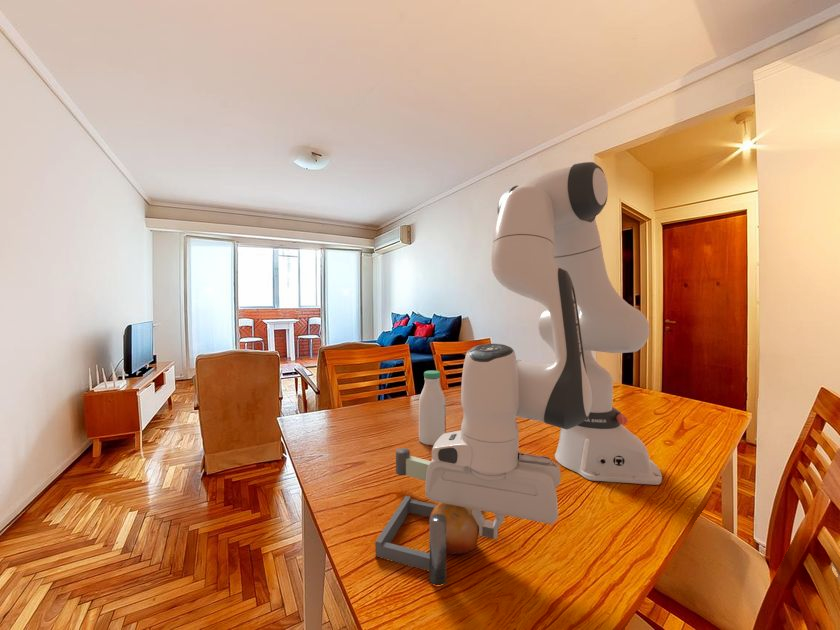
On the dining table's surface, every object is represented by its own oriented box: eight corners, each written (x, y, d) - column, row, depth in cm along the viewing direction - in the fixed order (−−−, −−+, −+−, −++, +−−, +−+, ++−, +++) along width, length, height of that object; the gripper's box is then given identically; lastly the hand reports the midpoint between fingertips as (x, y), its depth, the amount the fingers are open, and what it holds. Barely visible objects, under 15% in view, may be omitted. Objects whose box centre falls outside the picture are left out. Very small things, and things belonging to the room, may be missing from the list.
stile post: (448, 575, 49) (448, 515, 49) (443, 588, 47) (443, 526, 46) (432, 571, 50) (432, 512, 50) (427, 584, 48) (427, 522, 47)
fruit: (471, 513, 61) (476, 489, 57) (479, 564, 55) (485, 541, 50) (427, 514, 61) (428, 490, 56) (430, 566, 54) (431, 543, 50)
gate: (466, 504, 63) (466, 471, 63) (393, 480, 72) (392, 452, 71) (471, 495, 66) (471, 465, 66) (400, 474, 74) (400, 447, 74)
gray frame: (461, 520, 61) (461, 507, 61) (443, 575, 49) (443, 558, 49) (405, 508, 65) (405, 495, 65) (375, 556, 53) (375, 541, 53)
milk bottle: (443, 447, 92) (443, 375, 91) (416, 444, 94) (416, 374, 93) (447, 436, 100) (447, 369, 99) (421, 434, 101) (421, 368, 100)
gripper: (559, 449, 52) (557, 536, 53) (433, 433, 59) (432, 510, 59) (562, 469, 46) (561, 566, 47) (421, 448, 53) (421, 534, 53)
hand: (488, 534), depth 53 cm, fingers closed
